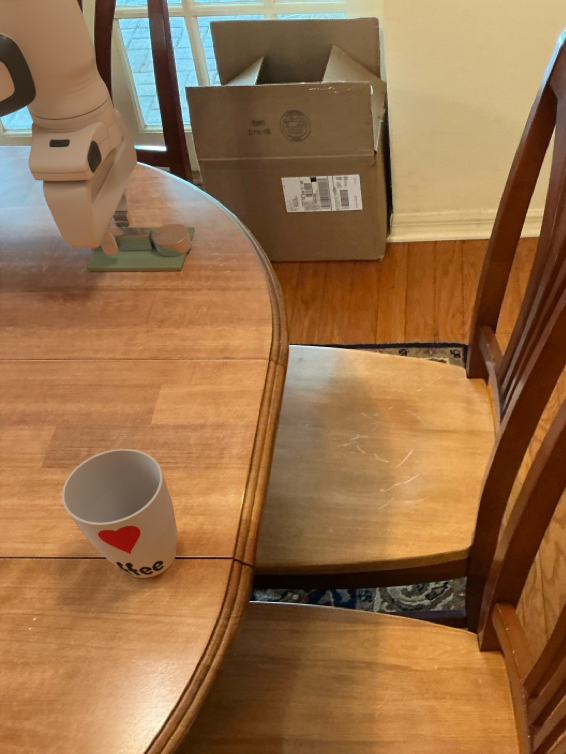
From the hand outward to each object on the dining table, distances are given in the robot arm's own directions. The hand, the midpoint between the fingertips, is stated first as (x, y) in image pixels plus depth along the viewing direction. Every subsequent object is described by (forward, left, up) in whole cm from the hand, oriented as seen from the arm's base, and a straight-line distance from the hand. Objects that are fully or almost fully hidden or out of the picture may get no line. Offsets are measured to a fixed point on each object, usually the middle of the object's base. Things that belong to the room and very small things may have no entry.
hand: (119, 237), depth 98 cm
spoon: (+3, 0, -1) cm, 3 cm away
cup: (+14, -48, -2) cm, 50 cm away
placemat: (+2, 0, -2) cm, 3 cm away
